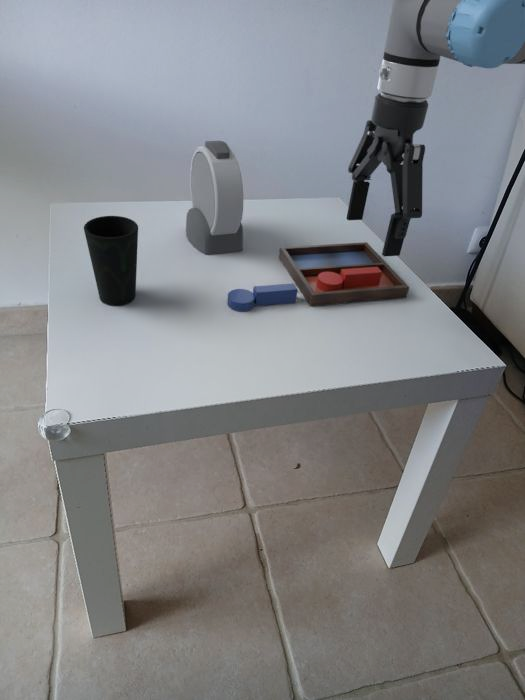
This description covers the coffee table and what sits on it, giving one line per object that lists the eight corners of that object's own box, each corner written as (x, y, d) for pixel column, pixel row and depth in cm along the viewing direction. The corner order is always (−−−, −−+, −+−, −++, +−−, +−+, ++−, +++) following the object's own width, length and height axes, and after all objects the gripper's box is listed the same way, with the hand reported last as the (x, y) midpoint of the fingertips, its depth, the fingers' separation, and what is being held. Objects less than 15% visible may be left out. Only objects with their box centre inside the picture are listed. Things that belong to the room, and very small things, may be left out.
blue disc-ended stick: (289, 292, 90) (291, 279, 88) (298, 306, 86) (300, 293, 85) (224, 298, 86) (225, 284, 85) (230, 312, 83) (231, 298, 82)
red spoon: (371, 276, 95) (374, 263, 93) (382, 288, 92) (385, 275, 90) (312, 280, 92) (315, 267, 90) (321, 293, 89) (324, 280, 87)
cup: (103, 281, 87) (96, 212, 80) (148, 287, 87) (144, 219, 79) (84, 305, 81) (74, 233, 74) (132, 313, 81) (127, 241, 73)
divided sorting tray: (364, 252, 104) (366, 242, 103) (406, 297, 92) (409, 287, 90) (278, 257, 99) (279, 247, 98) (310, 306, 87) (312, 295, 85)
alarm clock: (253, 254, 99) (261, 156, 88) (201, 260, 96) (203, 159, 84) (224, 219, 111) (228, 128, 100) (177, 223, 107) (176, 129, 96)
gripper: (342, 77, 82) (322, 207, 95) (425, 119, 63) (386, 274, 76) (385, 78, 84) (359, 205, 97) (477, 120, 66) (430, 270, 78)
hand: (371, 236), depth 87 cm, fingers open, 13 cm apart
